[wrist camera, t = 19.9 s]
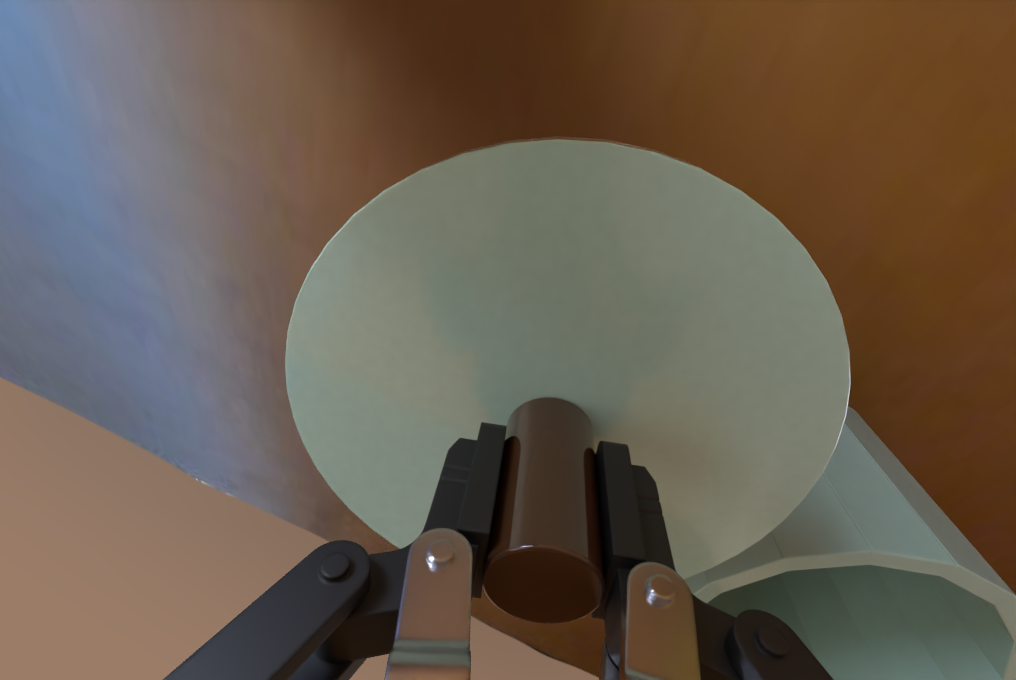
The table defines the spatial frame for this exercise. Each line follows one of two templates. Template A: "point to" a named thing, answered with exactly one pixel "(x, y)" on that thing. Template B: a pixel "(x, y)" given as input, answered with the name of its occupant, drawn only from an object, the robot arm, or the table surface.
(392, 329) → the pot lid
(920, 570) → the pot
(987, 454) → the table surface
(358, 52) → the table surface
